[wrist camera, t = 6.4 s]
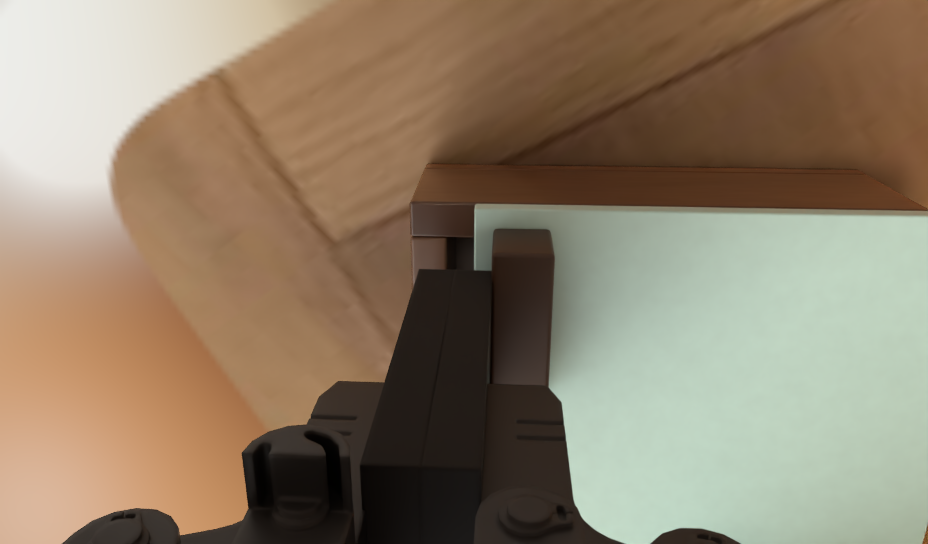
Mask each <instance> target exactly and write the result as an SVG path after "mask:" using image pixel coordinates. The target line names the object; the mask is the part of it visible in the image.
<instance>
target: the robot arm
mask: <svg viewBox="0 0 928 544" xmlns="http://www.w3.org/2000/svg"><path fill="white" fill-rule="evenodd" d="M491 297H492V281H491V271H484V270H443V269H419V271H418V274H417V277H416V281H415V284H414V287H413V290H412V294H411V297H410V300H409V304H408V307H407V310H406V314H405V317H404V320H403V323H402V327H401V330H400V333H399V337H398V340H397V343H396V346H395V350H394V353H393V356H392V360H391V363H390V366H389V370H388V373H387V376H386V379H385V383H382V382H350V381H338V382H337V383H335V384H334V385H333V386H332V387H331V388H329V389H328V390H327V391H326V392H324V393H323V394H322V395H321V396H319V398H318V400H317V403H316V405H315V407H314V409H313V412H312V414H311V419H309V420H308V423H307V425H296V426H287V427H283V428H280V429H277V430H273V431H270V432H267V433H266V434H264V435H262V436H260V437H259V438H257V439H255V440H254V441H252V442H251V443H250V444H249V445H248V446H247V448H246V449H245V450H244V451H243V452H242V459H243V467H244V475H245V483H246V492H247V500H248V508H249V509H248V511H247V513H246V515H245V517H244V519H243V520H242V521H240V522H237V523H235V524H233V525H229V526H226V527H222V528H218V529H213V530H208V531H203V532H198V533H192V534H186V535H181V536H180V534H179V528H178V526H177V524H176V523H175V522H174V520H173V519H172V517H171V516H169V515H167V514H165V513H162V512H160V511H158V510H154V509H140V508H135V509H129V510H124V511H119V512H114V513H111V514H108V515H106V516H103V517H101V518H99V519H96V520H93V521H92V522H90V523H89V524H87V525H86V526H84V527H83V528H81V529H80V530H78V531H77V532H75V533H74V534H73V535H72V536H70V537H69V538H68V539H67V540H66V541H65V542H64V543H63V544H625V543H622V542H619V541H616V540H614V539H611V538H608V537H607V536H605V535H603V534H601V533H600V532H598V531H596V530H594V529H593V528H592V527H591V526H590V525H589V524H588V523H586V522H585V521H584V520H583V518H582V517H581V515H580V512H579V510H578V508H577V507H576V506H575V503H574V499H573V491H572V483H571V475H570V467H569V458H568V450H567V442H566V434H565V426H564V418H563V410H562V402H561V401H560V400H559V399H558V398H557V396H556V395H555V394H554V393H553V392H552V391H551V390H550V388H549V387H548V386H544V385H513V384H490V350H491ZM650 544H741V543H739V542H737V541H735V540H733V539H732V538H730V537H728V536H726V535H724V534H721V533H717V532H713V531H710V530H706V529H702V528H678V529H675V530H672V531H668V532H665V533H662V534H661V535H660V536H658V537H657V538H656V539H655V540H654V541H653V542H652V543H650Z"/></svg>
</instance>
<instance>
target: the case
mask: <svg viewBox="0 0 928 544" xmlns="http://www.w3.org/2000/svg"><path fill="white" fill-rule="evenodd" d="M476 204H529V205H590V206H651V207H712V208H774V209H835V210H896V211H928V209H926V208H924V207H923V206H921V205H919V204H917V203H915V202H914V201H912V200H910V199H908V198H907V197H905V196H903V195H901V194H900V193H898V192H896V191H894V190H892V189H891V188H889V187H887V186H885V185H884V184H882V183H880V182H878V181H876V180H875V179H873V178H871V177H869V176H868V175H866V174H864V173H862V172H861V171H859V170H839V169H766V168H693V167H620V166H547V165H474V164H427V165H426V167H425V169H424V172H423V174H422V176H421V179H420V181H419V183H418V186H417V188H416V190H415V193H414V195H413V197H412V200H411V202H410V231H411V235H412V237H411V267H412V290H413V287H414V284H415V281H416V277H417V274H418V271H419V269H443V270H474V209H475V205H476Z"/></svg>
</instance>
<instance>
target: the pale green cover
mask: <svg viewBox="0 0 928 544" xmlns="http://www.w3.org/2000/svg"><path fill="white" fill-rule="evenodd" d="M474 270H484V271H491V281H492V297H491V350H490V384H513V385H544V386H548V387H549V388H550V390H551V391H552V392H553V393H554V394H555V395H556V396H557V398H558V399H559V400H560V401H561V402H562V410H563V418H564V426H565V434H566V442H567V450H568V458H569V467H570V475H571V483H572V491H573V499H574V503H575V506H576V507H577V508H578V510H579V512H580V515H581V517H582V518H583V520H584V521H585V522H586V523H588V524H589V525H590V526H591V527H592V528H593V529H594V530H596V531H598V532H600V533H601V534H603V535H605V536H607V537H608V538H611V539H614V540H616V541H619V542H622V543H625V544H650V543H652V542H653V541H654V540H655V539H656V538H657V537H658V536H660V535H661V534H662V533H665V532H668V531H672V530H675V529H678V528H702V529H706V530H710V531H713V532H717V533H721V534H724V535H726V536H728V537H730V538H732V539H733V540H735V541H737V542H739V543H741V544H922V543H923V540H924V536H925V532H926V529H927V525H928V211H896V210H835V209H774V208H712V207H651V206H590V205H529V204H476V205H475V209H474Z"/></svg>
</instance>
